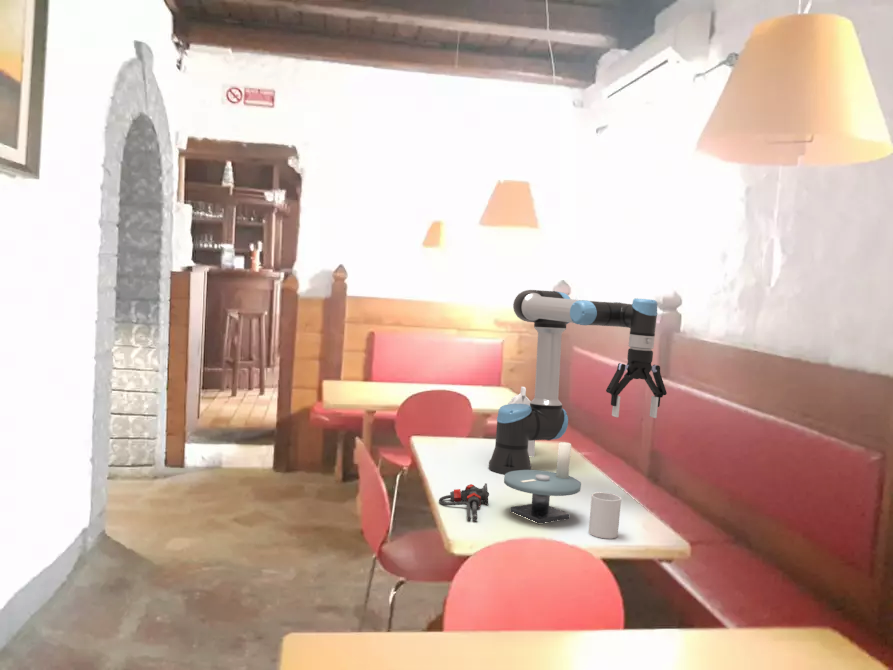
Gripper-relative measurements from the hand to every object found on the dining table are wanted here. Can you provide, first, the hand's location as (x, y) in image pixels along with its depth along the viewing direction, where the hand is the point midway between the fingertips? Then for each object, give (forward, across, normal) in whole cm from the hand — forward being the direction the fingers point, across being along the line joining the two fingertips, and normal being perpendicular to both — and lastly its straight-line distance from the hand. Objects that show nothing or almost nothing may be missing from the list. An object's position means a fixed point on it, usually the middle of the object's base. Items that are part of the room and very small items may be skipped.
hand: (634, 417), depth 240 cm
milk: (+29, -5, +71) cm, 77 cm away
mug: (+28, -22, -23) cm, 42 cm away
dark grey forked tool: (+29, -53, +2) cm, 61 cm away
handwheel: (+19, -34, -7) cm, 39 cm away
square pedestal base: (+28, -34, -8) cm, 44 cm away
